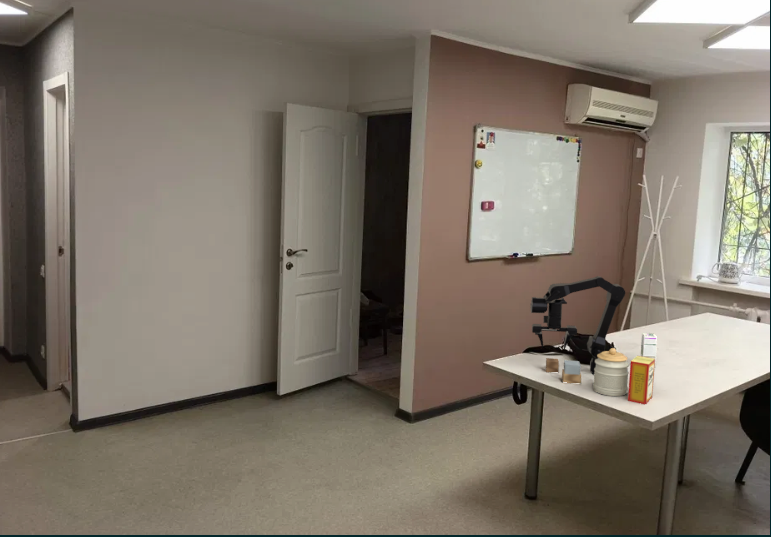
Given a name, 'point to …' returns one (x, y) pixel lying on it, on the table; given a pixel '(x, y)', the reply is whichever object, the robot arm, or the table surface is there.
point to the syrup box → (649, 345)
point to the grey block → (572, 367)
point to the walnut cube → (552, 365)
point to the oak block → (571, 377)
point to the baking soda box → (641, 379)
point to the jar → (611, 373)
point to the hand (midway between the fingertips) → (553, 348)
